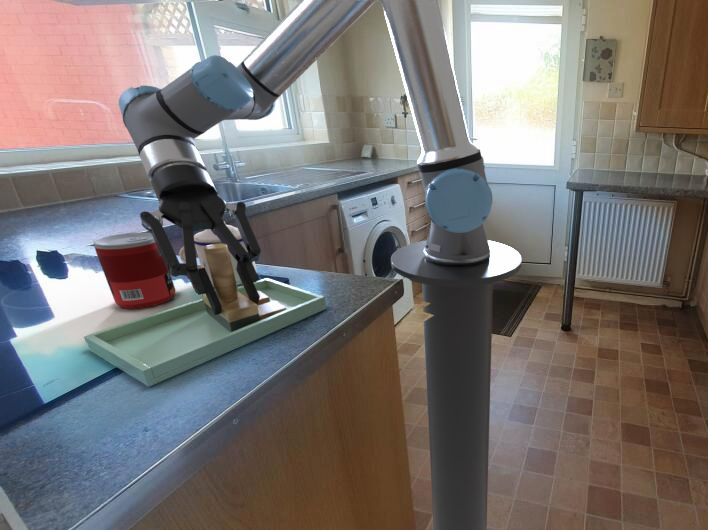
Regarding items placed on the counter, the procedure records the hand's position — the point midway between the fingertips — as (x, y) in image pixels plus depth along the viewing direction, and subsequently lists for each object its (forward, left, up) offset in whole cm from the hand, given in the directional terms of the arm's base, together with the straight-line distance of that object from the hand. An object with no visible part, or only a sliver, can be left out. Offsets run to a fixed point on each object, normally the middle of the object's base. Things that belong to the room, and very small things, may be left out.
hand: (237, 305), depth 60 cm
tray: (+1, -4, -4) cm, 6 cm away
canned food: (+2, -24, -5) cm, 24 cm away
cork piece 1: (-5, -6, -4) cm, 8 cm away
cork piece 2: (-4, 0, -4) cm, 5 cm away
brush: (-1, -3, -3) cm, 5 cm away
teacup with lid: (-10, -23, -5) cm, 25 cm away
